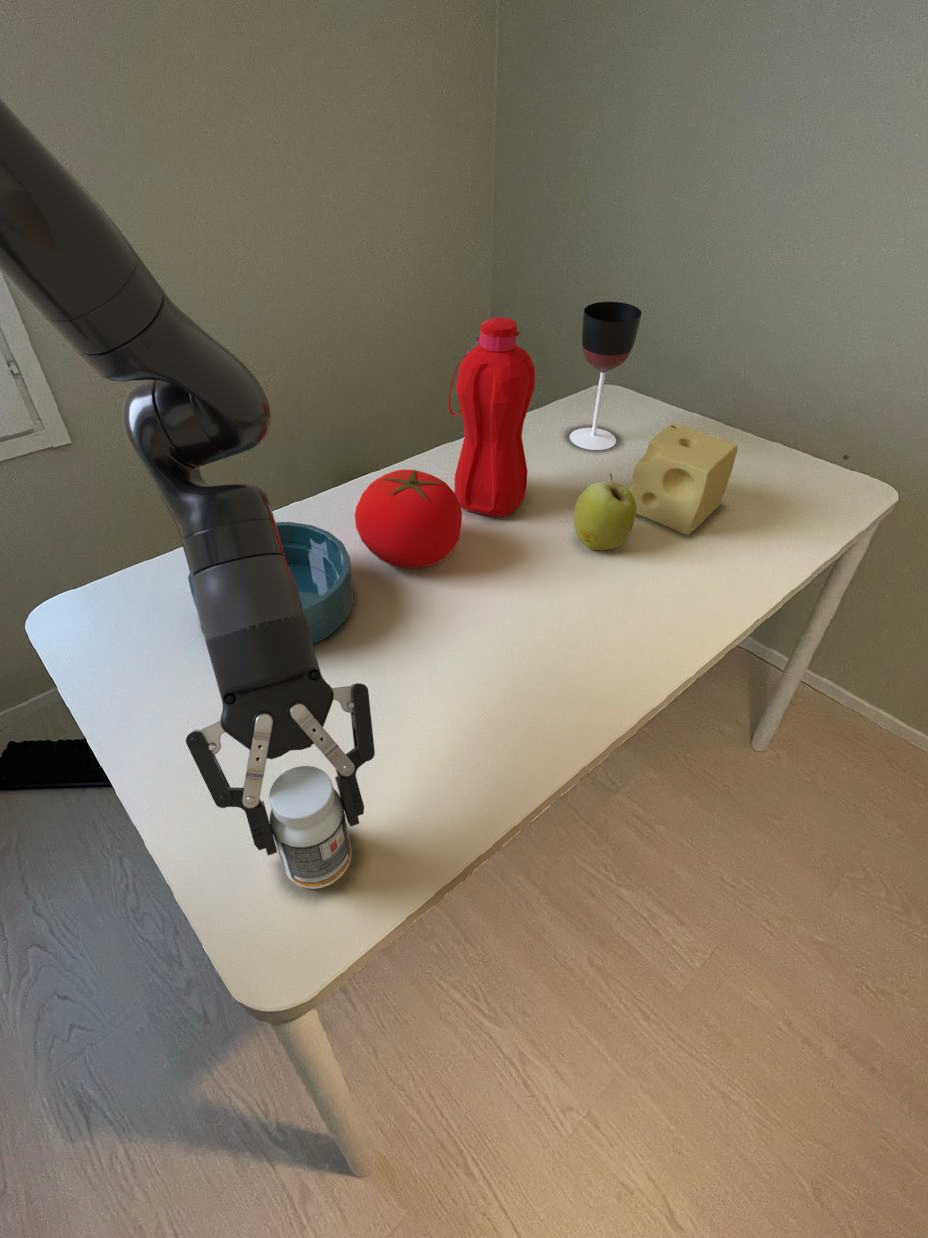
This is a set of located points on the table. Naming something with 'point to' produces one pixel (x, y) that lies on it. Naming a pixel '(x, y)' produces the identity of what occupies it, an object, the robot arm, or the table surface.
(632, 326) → the wineglass
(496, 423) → the water bottle
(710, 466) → the cheese
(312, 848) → the pill bottle
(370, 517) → the tomato
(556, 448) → the table surface
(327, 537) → the bowl
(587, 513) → the apple
